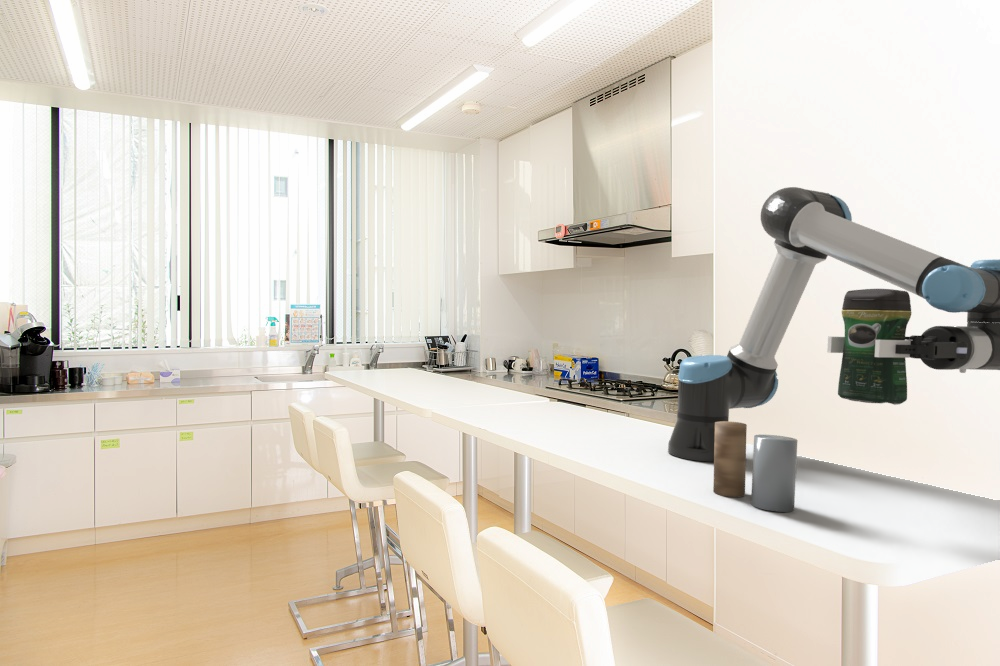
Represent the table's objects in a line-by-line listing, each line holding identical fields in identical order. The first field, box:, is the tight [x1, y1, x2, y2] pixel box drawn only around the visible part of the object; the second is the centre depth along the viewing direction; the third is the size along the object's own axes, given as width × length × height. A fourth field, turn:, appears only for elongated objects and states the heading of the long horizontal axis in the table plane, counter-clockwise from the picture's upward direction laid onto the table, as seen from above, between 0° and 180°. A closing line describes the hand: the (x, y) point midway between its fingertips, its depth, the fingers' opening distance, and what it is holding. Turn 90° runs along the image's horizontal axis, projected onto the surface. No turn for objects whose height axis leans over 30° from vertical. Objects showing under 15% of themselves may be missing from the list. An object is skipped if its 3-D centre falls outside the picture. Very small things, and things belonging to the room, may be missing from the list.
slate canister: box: [750, 434, 798, 513], centre depth 114 cm, size 7×7×12 cm
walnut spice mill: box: [712, 420, 748, 498], centre depth 122 cm, size 6×6×13 cm
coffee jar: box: [837, 288, 913, 406], centre depth 107 cm, size 10×8×19 cm
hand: (852, 346), depth 105 cm, fingers closed on coffee jar, 8 cm apart
